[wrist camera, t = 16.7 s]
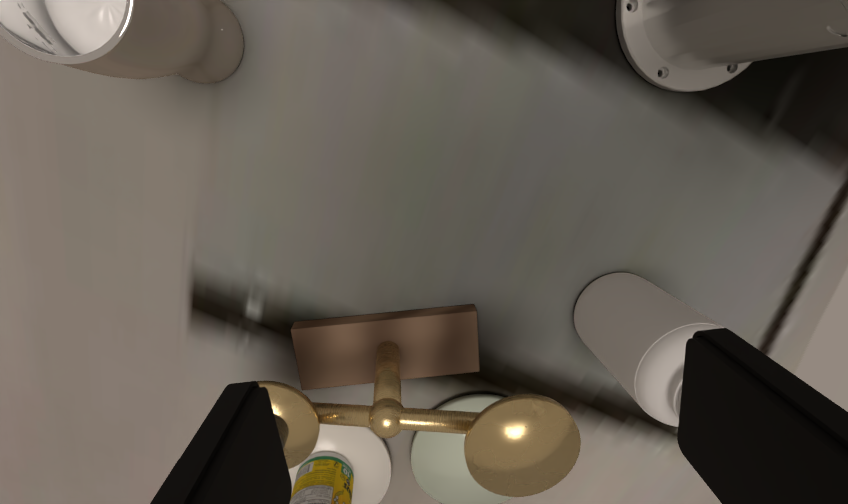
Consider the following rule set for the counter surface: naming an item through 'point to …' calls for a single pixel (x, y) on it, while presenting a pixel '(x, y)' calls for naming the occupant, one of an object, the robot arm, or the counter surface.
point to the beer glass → (128, 36)
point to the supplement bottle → (323, 480)
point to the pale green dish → (450, 459)
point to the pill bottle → (640, 338)
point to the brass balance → (415, 358)
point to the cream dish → (357, 459)
